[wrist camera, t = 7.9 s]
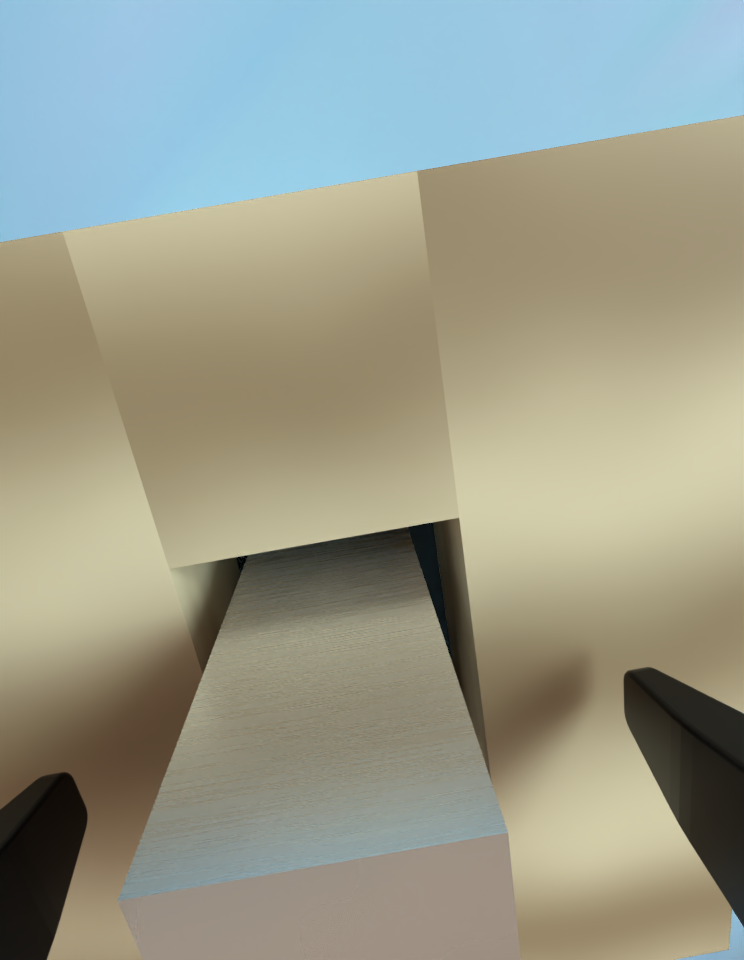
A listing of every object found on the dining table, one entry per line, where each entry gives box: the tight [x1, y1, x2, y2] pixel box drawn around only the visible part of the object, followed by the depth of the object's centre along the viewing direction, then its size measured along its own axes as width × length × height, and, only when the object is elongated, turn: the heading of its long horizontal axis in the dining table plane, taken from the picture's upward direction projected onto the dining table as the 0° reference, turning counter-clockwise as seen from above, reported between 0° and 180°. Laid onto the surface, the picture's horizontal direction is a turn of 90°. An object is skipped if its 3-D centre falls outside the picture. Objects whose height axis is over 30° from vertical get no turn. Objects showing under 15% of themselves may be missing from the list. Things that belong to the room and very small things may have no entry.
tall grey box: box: [118, 527, 521, 960], centre depth 9 cm, size 5×3×8 cm, turn 9°
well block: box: [0, 115, 744, 960], centre depth 11 cm, size 16×14×4 cm
